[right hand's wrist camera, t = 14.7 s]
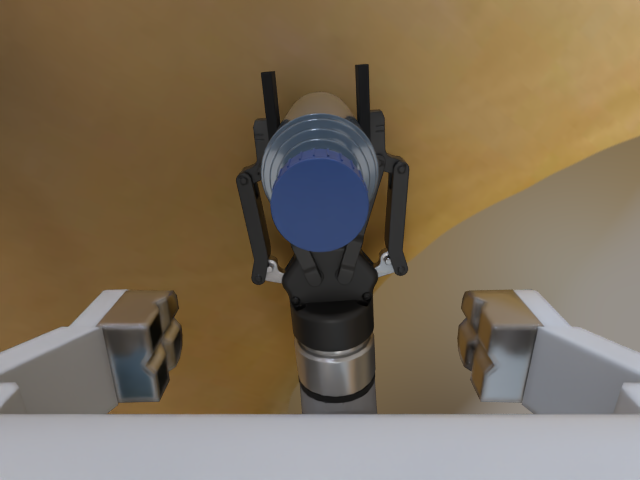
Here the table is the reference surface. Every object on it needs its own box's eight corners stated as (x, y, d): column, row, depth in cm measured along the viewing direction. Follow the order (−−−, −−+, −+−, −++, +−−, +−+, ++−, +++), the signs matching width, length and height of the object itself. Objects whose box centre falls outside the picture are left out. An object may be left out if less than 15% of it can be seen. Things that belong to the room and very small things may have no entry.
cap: (273, 146, 19) (267, 155, 17) (368, 148, 19) (373, 158, 17) (274, 234, 21) (269, 252, 19) (362, 236, 21) (367, 254, 19)
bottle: (285, 90, 39) (241, 125, 17) (355, 92, 39) (401, 129, 17) (285, 160, 42) (247, 270, 20) (352, 162, 42) (388, 273, 20)
